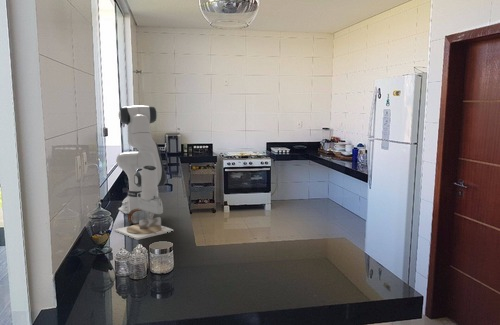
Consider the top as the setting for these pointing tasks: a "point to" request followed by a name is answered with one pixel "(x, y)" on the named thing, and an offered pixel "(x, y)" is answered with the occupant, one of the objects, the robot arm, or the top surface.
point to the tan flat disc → (146, 226)
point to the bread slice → (137, 216)
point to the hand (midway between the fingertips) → (150, 219)
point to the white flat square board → (141, 236)
